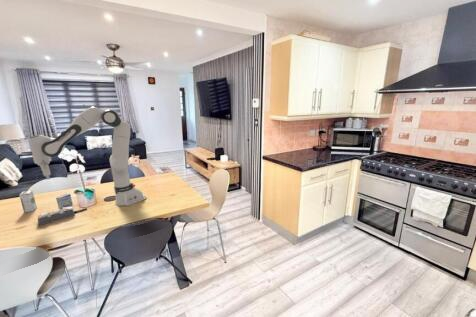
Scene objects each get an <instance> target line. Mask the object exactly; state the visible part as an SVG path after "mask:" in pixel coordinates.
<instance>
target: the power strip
mask: <svg viewBox="0 0 476 317" xmlns="http://www.w3.org/2000/svg"><path fill="white" fill-rule="evenodd" d="M70 207H72V208H73V206H71V205H70ZM59 209H60V212H58V213H57V214H54V215H52V216H51V214H50V212H51V211H49V212H48V215H47V216H45V217H44V218H40V219H38V218H37V222H38V226H43V225H46V223H47V224H51V223H53V221H54V222H57V221H60V220H64V219H66V218H70V217H74V216H75V214H76V213H80V212H83V211H87V210H88V208H87V207H85V208H82V209H79V210H75V211H74V208H73V209H72V210H69V211H66V210H64V211H63V209H62V208H59Z"/></svg>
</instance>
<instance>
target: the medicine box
mask: <svg viewBox="0 0 476 317" xmlns="http://www.w3.org/2000/svg"><path fill="white" fill-rule="evenodd" d="M71 195H72V194H71V193H65V194H63V195H59V196H57V197H55V199H56V204H57V207H58V208H57V209H63V207H71V205H74V204H73V200H72V196H71Z"/></svg>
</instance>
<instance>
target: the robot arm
mask: <svg viewBox="0 0 476 317" xmlns="http://www.w3.org/2000/svg"><path fill="white" fill-rule="evenodd" d="M101 122H103V123H104V124H105V125H108V126H110V127H113V136H112V143H111V145H112V146H111V147H112V149H111V154H110V157H109V164H110V169H111V174H112V178H113V179H112V180H113V183H114V184H113V185H114V186H113V189H114V194H115V203H114V205H116V206H119V207H121V206H126V207H128V206H132V205H134V204H136V203H137V204H138V203H139V202H142V201H144V200H146V199H147V195H145V194H144V193H143V192H142V190H141V189H140V188H137V187H136V184H134V183H132V182H131V179H130V174H129V169H128V166H129V160H130V159H129V158H130V154H129V149H130V140H131V125H130V123H129V122H127V121H125V120H122V119H121V116H120V114H119V112H117V111H116V110H115V109H111V108H110V109H105V110H101V109H100V108H98V107H97V106H91V107H89V108H87V109H85V110H84V111H82V112H80V113H79V114H78V115H77V116H76V117H75V118H74V119H73V120H72V122H71V123H70V125H69V126H68V127H67V128H66V129H65V130H64V131H63V132H61V133H60V134H59V135H58V136H57V137H56V138H55V137H49V136H46V135H44V134H37V135H34V136H31V137H29V138H28V146H29V150H30V151H31V153H32V159H33V162H34V164H35V165H37V166H39V167H40V169H41V171H42V175H43V176H44V177H45V179H46V180H50V179H51V178H50V176H51V174H52V173H51V169H50V166H49V164H50V162H52V161H53V160H52V158H55V157H57V156H58V157H59V155H60V154H61V153H62V152H63V151H64V150H65V148H66V145H67V144H68V143H69V142H70V141H72V140H73V139H75V138H76V137H77V136H79V135H82V134H84V133H86V132H87V131H89V130H91V129H93V127H94V126H96V125H97V124H99V123H101Z"/></svg>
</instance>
